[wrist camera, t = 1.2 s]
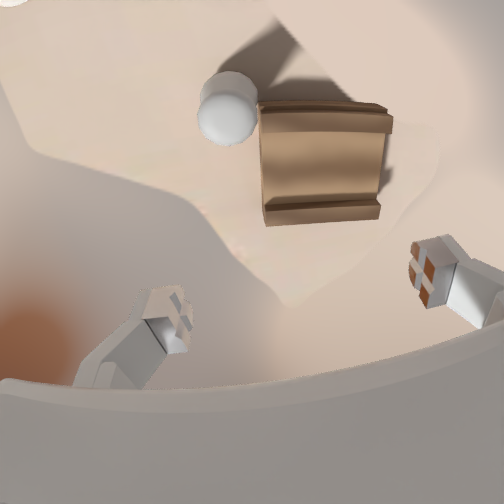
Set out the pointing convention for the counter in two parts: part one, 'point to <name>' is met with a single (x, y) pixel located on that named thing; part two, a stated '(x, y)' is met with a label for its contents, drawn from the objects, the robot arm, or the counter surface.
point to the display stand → (320, 160)
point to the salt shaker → (228, 108)
